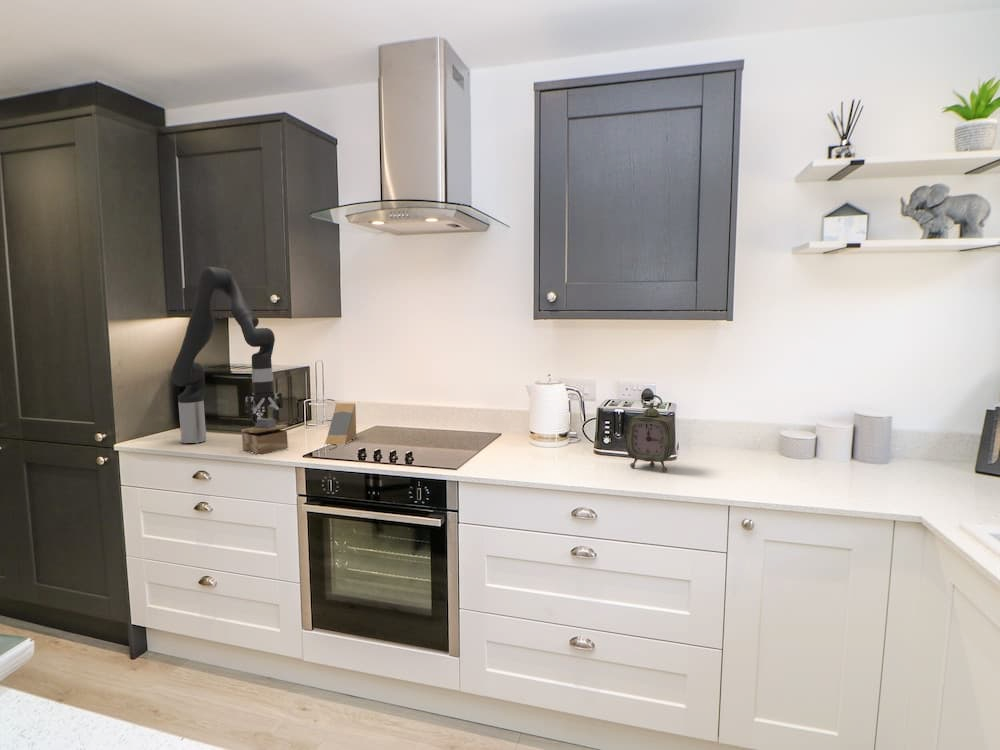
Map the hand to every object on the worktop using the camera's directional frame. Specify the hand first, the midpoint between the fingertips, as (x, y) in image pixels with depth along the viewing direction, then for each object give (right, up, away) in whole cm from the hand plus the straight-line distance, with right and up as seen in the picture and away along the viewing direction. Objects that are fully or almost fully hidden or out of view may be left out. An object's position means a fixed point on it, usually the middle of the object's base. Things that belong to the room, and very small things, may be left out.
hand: (265, 421), depth 223 cm
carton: (-1, -11, +2) cm, 11 cm away
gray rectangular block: (0, -2, 0) cm, 2 cm away
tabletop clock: (+142, -14, -30) cm, 146 cm away
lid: (-1, -3, +1) cm, 4 cm away
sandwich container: (+25, -10, +15) cm, 31 cm away
